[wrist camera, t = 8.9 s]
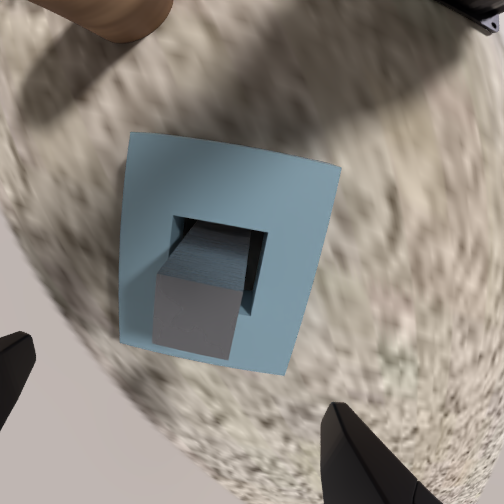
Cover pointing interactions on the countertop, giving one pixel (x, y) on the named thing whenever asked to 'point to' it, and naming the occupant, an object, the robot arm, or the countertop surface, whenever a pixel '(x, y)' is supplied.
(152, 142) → the socket board
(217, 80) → the countertop surface
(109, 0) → the round peg
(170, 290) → the square peg
